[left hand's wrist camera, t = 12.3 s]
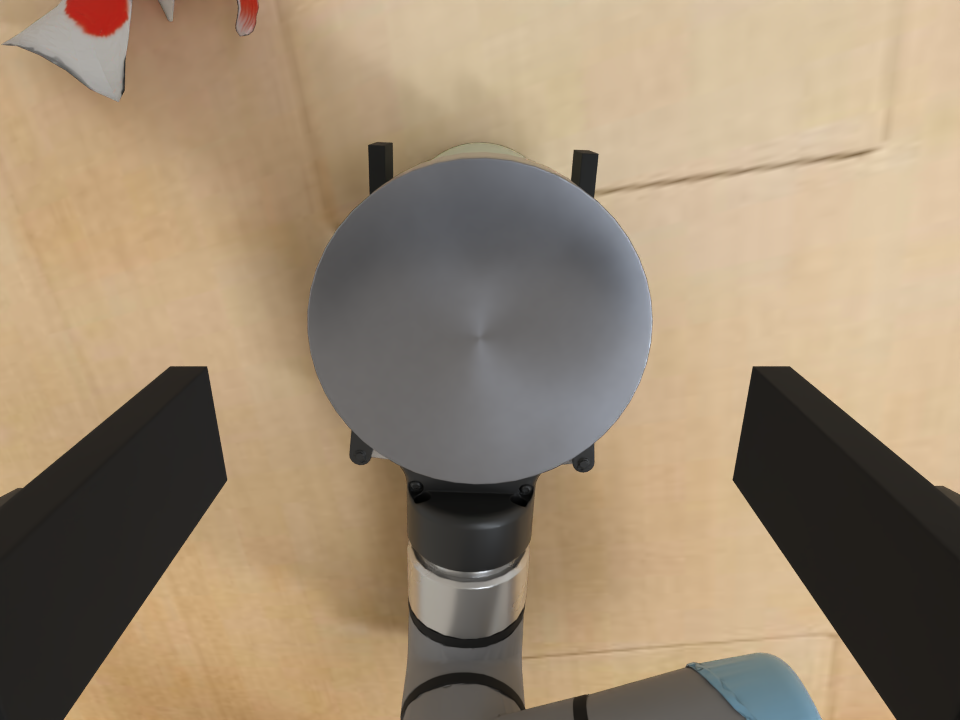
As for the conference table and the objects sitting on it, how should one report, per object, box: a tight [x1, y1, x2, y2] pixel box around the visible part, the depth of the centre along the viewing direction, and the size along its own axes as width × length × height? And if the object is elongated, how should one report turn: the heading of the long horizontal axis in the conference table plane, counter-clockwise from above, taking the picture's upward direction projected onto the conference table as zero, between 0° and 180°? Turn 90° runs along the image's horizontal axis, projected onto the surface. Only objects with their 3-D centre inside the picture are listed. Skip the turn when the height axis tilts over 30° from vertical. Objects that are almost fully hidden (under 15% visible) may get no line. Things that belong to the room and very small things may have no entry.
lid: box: [308, 152, 653, 484], centre depth 19 cm, size 10×10×2 cm
